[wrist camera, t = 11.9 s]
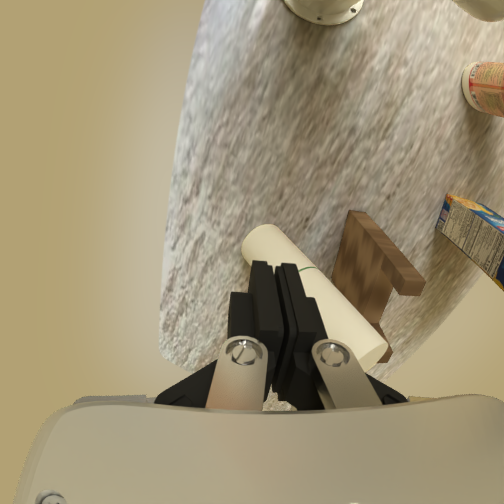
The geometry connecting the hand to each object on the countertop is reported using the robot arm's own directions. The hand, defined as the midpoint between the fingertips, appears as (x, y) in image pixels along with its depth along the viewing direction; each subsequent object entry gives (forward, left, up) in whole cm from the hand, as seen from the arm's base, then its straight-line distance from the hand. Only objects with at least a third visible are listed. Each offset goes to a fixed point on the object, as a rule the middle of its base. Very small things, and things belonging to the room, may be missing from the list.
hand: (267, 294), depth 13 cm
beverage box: (+6, +42, -37) cm, 56 cm away
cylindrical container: (+15, +4, -36) cm, 39 cm away
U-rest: (+15, +19, -37) cm, 45 cm away
